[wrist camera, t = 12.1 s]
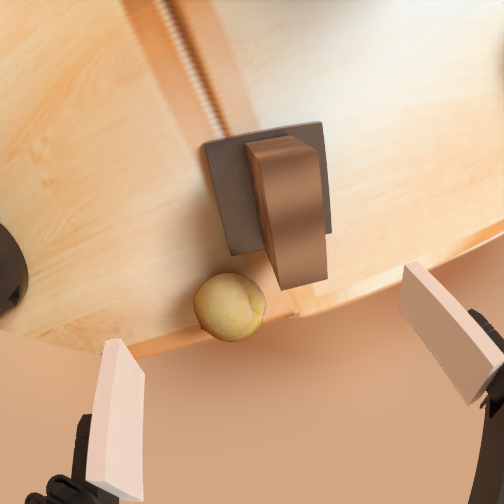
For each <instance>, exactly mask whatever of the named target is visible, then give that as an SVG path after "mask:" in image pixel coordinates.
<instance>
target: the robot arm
mask: <svg viewBox="0 0 504 504" xmlns="http://www.w3.org/2000/svg"><path fill="white" fill-rule="evenodd" d="M27 287H28V271H27V266H26V262H25V259H24V257H23V254H22V252H21V250H20V248H19V246H18V244H17V243H16V241H15V239H14V238H13V237H12V235H11V234H10V233H9V232H8V230H7V229H6V228H5V227H4V226H3V225H2V224H1V223H0V319H2V318H3V317H4V316H6V315H7V314H9V313H10V312H11V311H13V310H14V309H15V308H16V307H17V306H18V305H19V303H20V302H21V300H22V298H23V297H24V295H25V293H26V291H27ZM398 309H399V310H400V312H401V313H402V314H403V316H404V317H405V318H406V320H407V321H408V322H409V323H410V325H411V326H412V327H413V329H414V330H415V331H416V333H417V334H418V336H419V337H420V338H421V340H422V341H423V342H424V344H425V345H426V346H427V348H428V349H429V350H430V352H431V353H432V355H433V356H434V357H435V359H436V360H437V362H438V363H439V364H440V366H441V367H442V369H443V370H444V372H445V373H446V374H447V376H448V377H449V379H450V380H451V382H452V383H453V385H454V386H455V388H456V389H457V391H458V392H459V394H460V395H461V397H462V398H463V400H464V401H465V403H466V404H467V406H468V405H470V404H472V403H473V402H474V401H476V400H478V399H479V398H480V397H481V396H482V394H483V393H484V392H485V390H486V391H487V393H488V395H487V397H486V398H485V399H484V401H483V402H482V403H481V405H480V408H482V407H483V406H484V405H485V404H486V407H485V409H486V410H485V419H484V428H483V435H482V441H481V448H480V454H479V459H478V464H477V469H476V474H475V478H474V482H473V486H472V490H471V494H470V498H469V501H468V504H504V339H503V338H502V337H501V336H500V335H499V333H498V332H497V331H496V330H494V328H493V326H491V324H489V323H488V321H487V320H486V319H485V318H484V317H483V316H482V315H481V314H480V313H478V312H477V311H475V310H473V309H470V310H468V311H466V310H465V309H464V308H463V307H462V306H461V305H460V304H459V303H458V302H457V301H456V299H454V297H453V296H452V295H451V294H450V293H449V292H448V291H447V290H446V289H445V288H444V287H443V286H442V285H441V284H440V283H439V282H438V281H437V280H436V279H435V278H434V277H433V276H432V275H431V274H430V273H429V272H428V271H427V270H426V269H425V268H424V267H423V266H422V265H421V264H420V263H419V262H418V261H415V262H412V263H409V264H406V265H404V272H403V279H402V286H401V292H400V298H399V304H398ZM144 383H145V374H144V373H143V371H142V370H141V368H140V367H139V365H138V364H137V362H136V361H135V359H134V358H133V356H132V355H131V353H130V352H129V350H128V349H127V347H126V345H125V344H124V342H123V341H122V339H121V338H115V339H110V340H106V342H105V346H104V351H103V356H102V361H101V366H100V372H99V377H98V382H97V388H96V394H95V400H94V406H93V413H92V414H85V415H83V416H82V418H81V420H80V421H79V423H78V426H77V433H76V437H77V438H76V440H75V448H74V457H73V465H72V476H71V479H70V478H68V477H66V476H64V475H55V476H53V477H52V478H51V479H50V480H49V481H48V483H47V486H46V494H47V496H43V495H41V494H39V493H31V494H29V495H28V496H27V498H26V499H25V504H119V498H121V499H123V500H125V501H137V502H138V501H141V502H143V501H144V499H143V462H142V441H143V437H142V436H143V403H144V402H143V401H144Z"/></svg>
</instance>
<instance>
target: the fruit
mask: <svg viewBox="0 0 504 504" xmlns="http://www.w3.org/2000/svg"><path fill="white" fill-rule="evenodd" d="M265 309H266V301H265V297H264V295H263V293H262V291H261V289H260V288H259V286H258V285H257V284H256V283H255V282H254V281H252V280H251V279H249V278H247V277H245V276H243V275H239V274H235V273H222V274H218V275H216V276H214V277H212V278H210V279H209V280H208V281H206V282H205V283H204V284H203V285H202V286H201V287H200V289H199V290H198V292H197V293H196V296H195V299H194V311H195V314H196V316H197V319H198V321H199V323H200V326H201V329H204V331H206V332H208V333H209V334H211V335H212V336H213V337H215V338H217V339H218V340H222V341H227V342H237V341H240V340H243V339H246V338H247V337H249V336H250V335H251V334H252V333H253V332H255V331H256V330H257V328H258V327H259V326H260V324H261V322H262V320H263V317H264V313H265Z"/></svg>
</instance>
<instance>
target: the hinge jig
mask: <svg viewBox="0 0 504 504" xmlns="http://www.w3.org/2000/svg"><path fill="white" fill-rule="evenodd" d="M287 135H291V136H293V137H294V138H296V139H298V140H300V141H301V142H303V143H305V144H306V145H308V146H310V147H312V148H313V149H315V150H317V151H318V158H319V167H320V177H321V187H322V198H323V210H324V223H325V234H330V233H332V227H331V211H330V197H329V184H328V173H327V162H326V153H325V143H324V135H323V126H322V122H319V121H317V122H309V123H302V124H296V125H289V126H283V127H277V128H271V129H265V130H260V131H255V132H249V133H244V134H239V135H235V136H230V137H225V138H221V139H216V140H212V141H208V142H204V144H205V149H206V153H207V157H208V162H209V166H210V170H211V174H212V179H213V183H214V187H215V191H216V195H217V200H218V204H219V208H220V212H221V216H222V220H223V224H224V228H225V232H226V236H227V240H228V244H229V248H230V252H231V256H234V255H239V254H243V253H247V252H252V251H256V250H260V249H265V245H264V240H263V235H262V229H261V224H260V218H259V213H258V207H257V202H256V197H255V191H254V186H253V181H252V176H251V170H250V165H249V160H248V155H247V149H246V144H245V143H249V142H254V141H259V140H264V139H270V138H275V137H281V136H287Z"/></svg>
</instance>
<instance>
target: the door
mask: <svg viewBox="0 0 504 504" xmlns="http://www.w3.org/2000/svg"><path fill="white" fill-rule="evenodd" d="M245 144H246V149H247V155H248V160H249V165H250V170H251V176H252V181H253V186H254V191H255V197H256V202H257V207H258V213H259V218H260V224H261V229H262V235H263V240H264V245H265V249H266V252H267V255H268V257H269V260H270V263H271V265H272V268H273V271H274V273H275V276H276V278H277V281H278V284H279V286H280V289H281V291H282V290H286V289H290V288H294V287H298V286H302V285H306V284H310V283H314V282H318V281H322V280H326V279H328V276H327V255H326V238H325V223H324V210H323V198H322V187H321V177H320V167H319V158H318V151H317V150H315V149H313V148H312V147H310V146H308V145H306V144H305V143H303V142H301V141H300V140H298V139H296V138H294V137H293V136H291V135H287V136H281V137H275V138H270V139H264V140H259V141H254V142H249V143H245Z"/></svg>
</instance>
